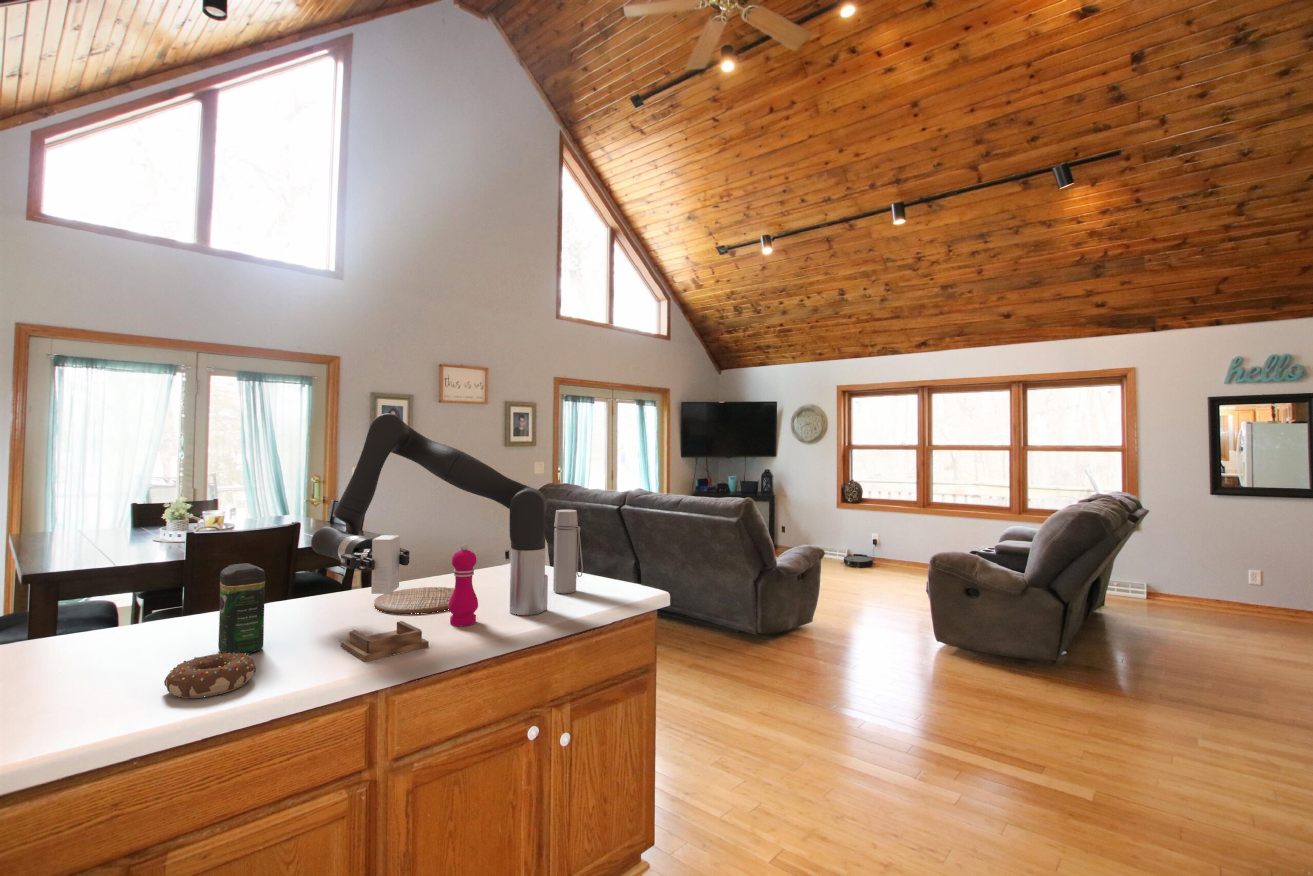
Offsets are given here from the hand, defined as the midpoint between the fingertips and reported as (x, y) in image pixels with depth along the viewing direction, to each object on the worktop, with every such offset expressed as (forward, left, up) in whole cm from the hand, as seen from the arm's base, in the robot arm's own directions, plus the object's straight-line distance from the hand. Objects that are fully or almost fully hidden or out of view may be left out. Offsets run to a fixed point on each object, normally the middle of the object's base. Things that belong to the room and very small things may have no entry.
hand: (390, 563), depth 139 cm
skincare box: (0, -2, -7) cm, 7 cm away
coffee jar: (+23, -21, -19) cm, 37 cm away
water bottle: (-62, -15, -19) cm, 67 cm away
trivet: (-24, -33, -20) cm, 45 cm away
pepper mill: (-22, -7, -19) cm, 30 cm away
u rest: (0, -2, -19) cm, 19 cm away
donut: (+32, -2, -19) cm, 38 cm away
